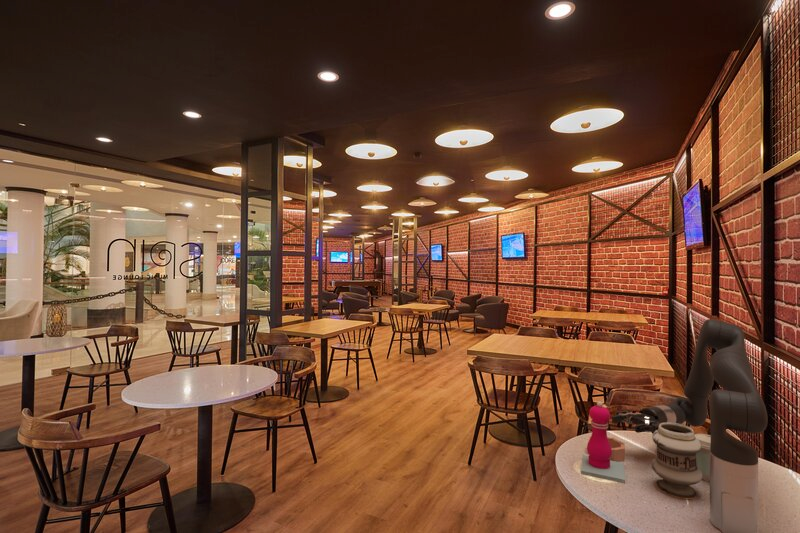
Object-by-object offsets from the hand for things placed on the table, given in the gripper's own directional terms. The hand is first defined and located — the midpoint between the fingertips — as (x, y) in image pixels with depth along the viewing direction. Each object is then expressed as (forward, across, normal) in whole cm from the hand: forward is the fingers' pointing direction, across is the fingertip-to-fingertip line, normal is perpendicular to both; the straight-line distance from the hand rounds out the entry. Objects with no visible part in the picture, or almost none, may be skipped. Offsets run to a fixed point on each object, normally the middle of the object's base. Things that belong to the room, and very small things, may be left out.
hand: (624, 424), depth 134 cm
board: (+10, 0, +13) cm, 16 cm away
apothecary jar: (0, +16, +13) cm, 21 cm away
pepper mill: (+9, -2, +12) cm, 15 cm away
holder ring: (-1, -8, +13) cm, 15 cm away
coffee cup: (-17, +16, +13) cm, 27 cm away
